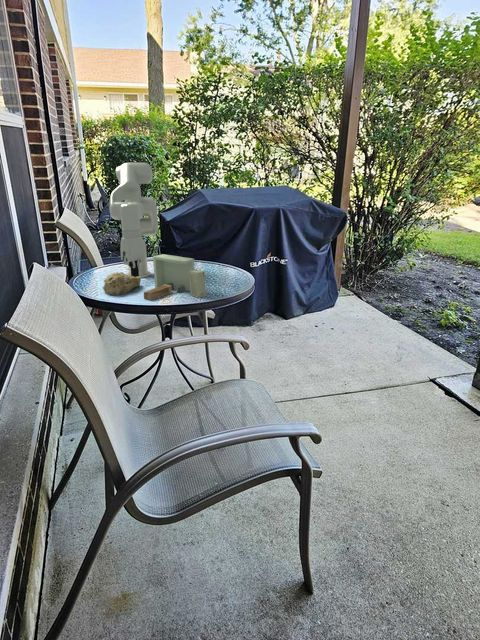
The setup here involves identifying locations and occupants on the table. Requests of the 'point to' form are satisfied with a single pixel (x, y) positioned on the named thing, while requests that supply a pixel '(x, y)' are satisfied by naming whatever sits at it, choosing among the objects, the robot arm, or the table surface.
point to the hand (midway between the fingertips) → (135, 276)
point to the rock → (120, 283)
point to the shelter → (173, 271)
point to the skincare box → (197, 283)
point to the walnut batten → (157, 292)
